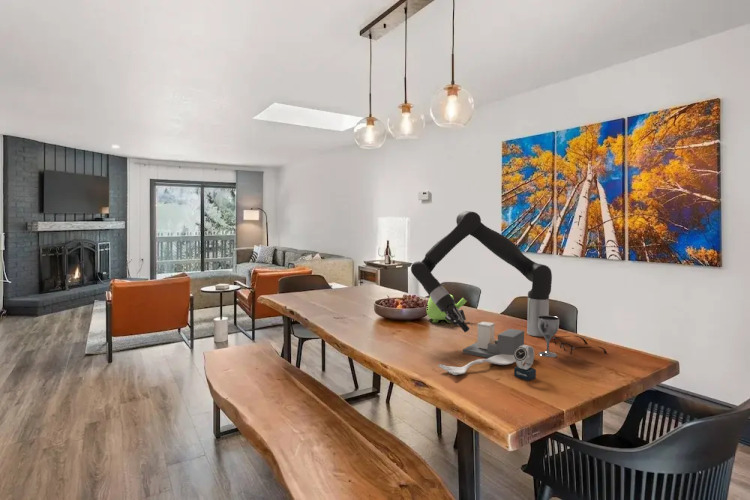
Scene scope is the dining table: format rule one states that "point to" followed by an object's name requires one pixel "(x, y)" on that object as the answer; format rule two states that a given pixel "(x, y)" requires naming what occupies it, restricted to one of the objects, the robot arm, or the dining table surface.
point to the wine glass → (548, 331)
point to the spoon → (496, 359)
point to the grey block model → (499, 344)
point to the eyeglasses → (572, 346)
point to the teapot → (435, 311)
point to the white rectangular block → (485, 334)
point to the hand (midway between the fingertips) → (467, 330)
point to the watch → (520, 358)
